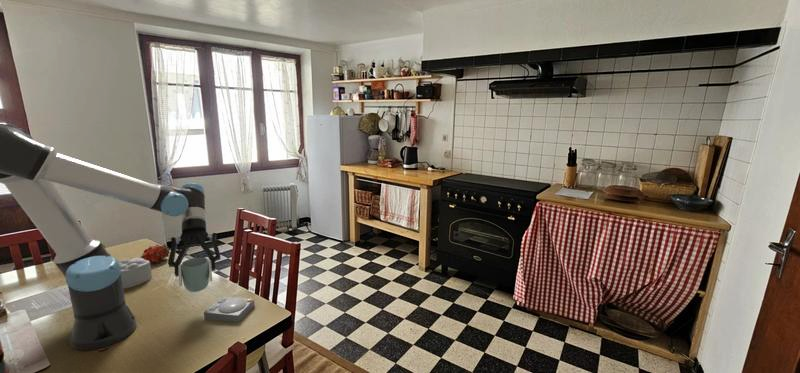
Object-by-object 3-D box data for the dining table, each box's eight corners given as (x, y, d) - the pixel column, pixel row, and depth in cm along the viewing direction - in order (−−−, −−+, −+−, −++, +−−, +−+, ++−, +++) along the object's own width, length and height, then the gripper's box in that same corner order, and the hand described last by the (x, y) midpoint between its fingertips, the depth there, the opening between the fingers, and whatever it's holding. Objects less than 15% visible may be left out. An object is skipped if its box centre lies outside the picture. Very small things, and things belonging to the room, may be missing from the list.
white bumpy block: (155, 278, 138) (152, 258, 136) (117, 292, 126) (113, 271, 125) (141, 272, 142) (138, 253, 141) (103, 285, 131) (100, 265, 129)
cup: (191, 297, 110) (188, 269, 108) (179, 290, 114) (176, 262, 112) (214, 288, 117) (212, 261, 115) (202, 281, 121) (200, 255, 119)
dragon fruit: (173, 260, 158) (144, 273, 148) (164, 247, 160) (134, 259, 150) (174, 250, 153) (144, 262, 143) (164, 237, 155) (134, 248, 145)
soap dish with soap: (238, 322, 110) (238, 314, 110) (204, 319, 111) (203, 311, 111) (254, 305, 120) (254, 298, 119) (222, 302, 121) (222, 295, 121)
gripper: (226, 224, 130) (230, 280, 119) (160, 230, 120) (159, 292, 109) (225, 214, 125) (230, 272, 114) (157, 220, 114) (155, 284, 104)
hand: (196, 282), depth 112 cm, fingers closed on cup, 8 cm apart
